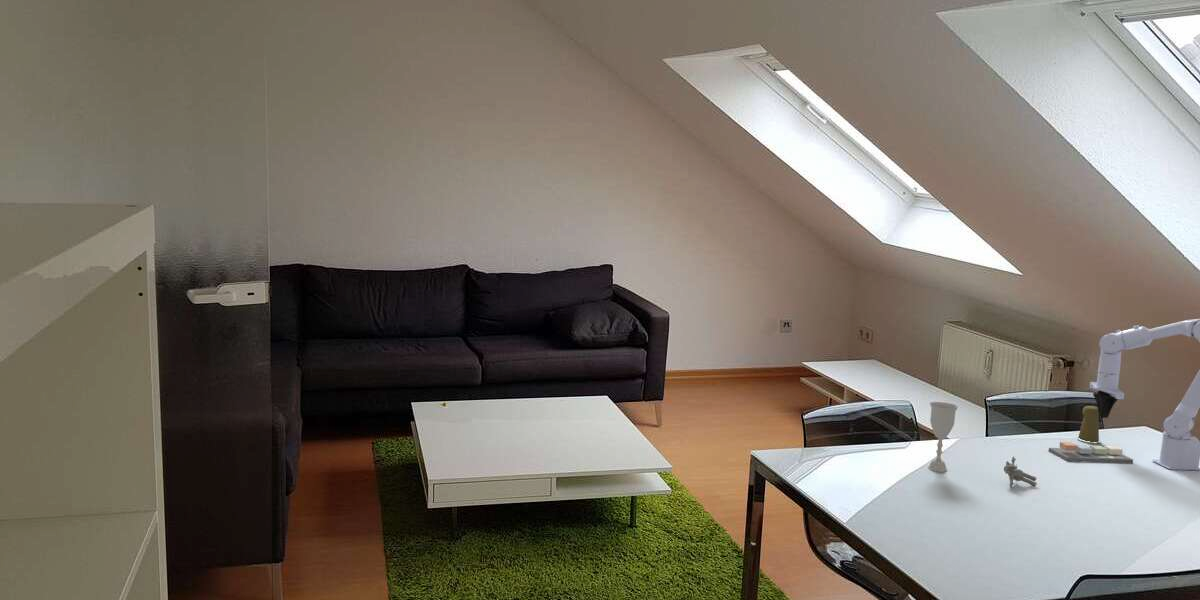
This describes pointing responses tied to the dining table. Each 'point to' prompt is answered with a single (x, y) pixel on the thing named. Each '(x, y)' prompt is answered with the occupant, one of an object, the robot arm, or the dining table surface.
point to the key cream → (1113, 450)
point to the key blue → (1084, 449)
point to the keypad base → (1090, 456)
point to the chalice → (941, 429)
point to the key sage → (1098, 449)
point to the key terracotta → (1068, 446)
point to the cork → (1090, 424)
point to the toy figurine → (1018, 474)
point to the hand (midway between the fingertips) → (1103, 417)
